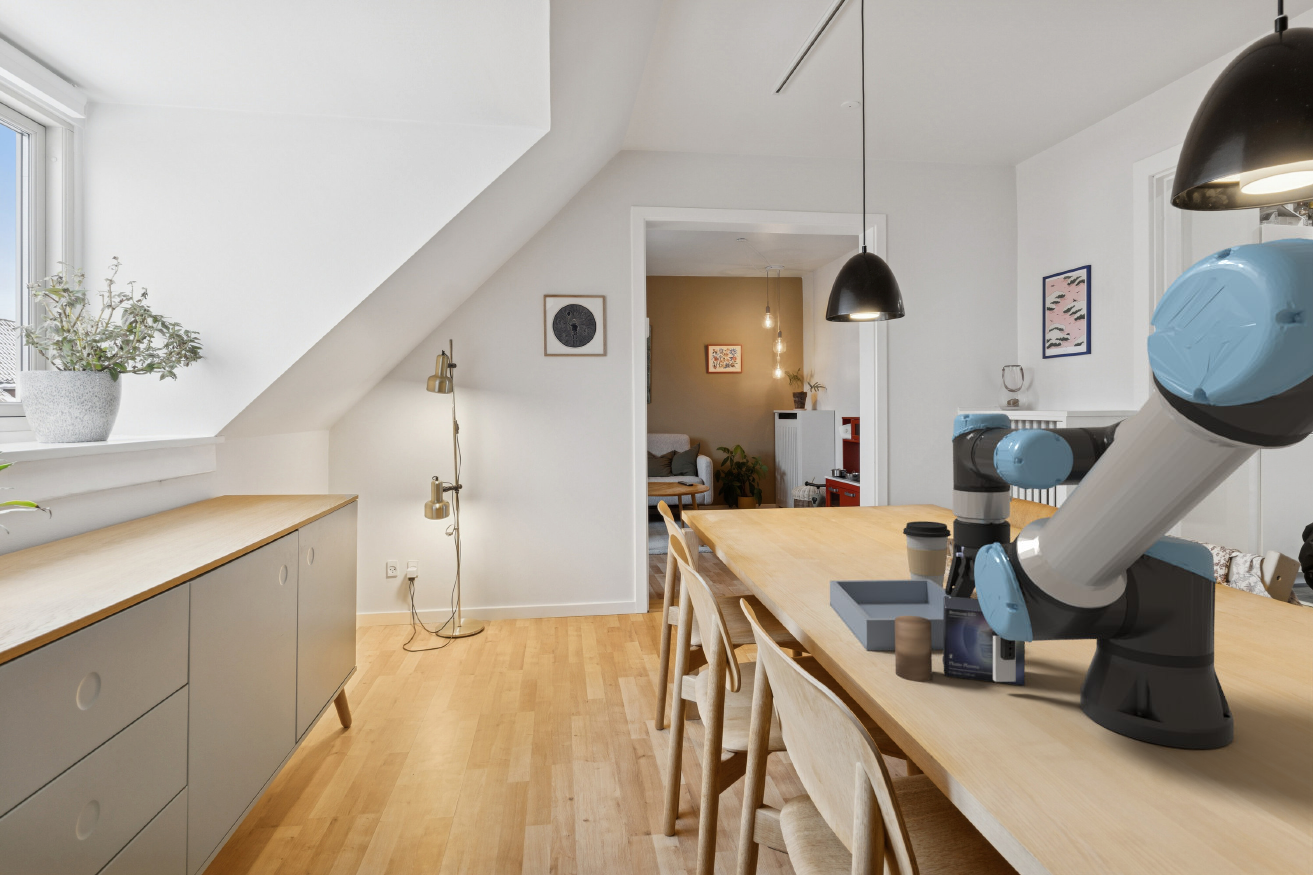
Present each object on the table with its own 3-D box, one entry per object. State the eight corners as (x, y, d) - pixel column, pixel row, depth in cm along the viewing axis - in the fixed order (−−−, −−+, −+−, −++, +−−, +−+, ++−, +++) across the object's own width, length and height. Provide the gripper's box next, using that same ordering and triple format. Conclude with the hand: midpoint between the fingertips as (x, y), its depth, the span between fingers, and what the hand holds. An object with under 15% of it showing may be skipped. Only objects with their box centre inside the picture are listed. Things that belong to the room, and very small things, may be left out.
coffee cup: (942, 588, 144) (942, 520, 144) (958, 600, 135) (957, 527, 134) (898, 588, 145) (897, 520, 145) (910, 600, 136) (909, 528, 135)
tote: (991, 649, 107) (991, 618, 107) (866, 650, 108) (866, 620, 108) (930, 603, 133) (929, 579, 133) (830, 605, 134) (829, 580, 134)
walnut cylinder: (937, 680, 95) (936, 625, 95) (902, 681, 95) (901, 626, 95) (924, 667, 100) (923, 615, 100) (891, 667, 100) (890, 615, 100)
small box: (943, 677, 96) (943, 606, 96) (942, 662, 102) (941, 594, 102) (1026, 687, 92) (1026, 613, 92) (1019, 670, 98) (1019, 600, 98)
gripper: (1056, 534, 84) (1055, 698, 85) (969, 506, 109) (969, 632, 110) (996, 535, 84) (996, 698, 85) (923, 506, 109) (924, 633, 110)
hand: (981, 661), depth 97 cm, fingers open, 13 cm apart
